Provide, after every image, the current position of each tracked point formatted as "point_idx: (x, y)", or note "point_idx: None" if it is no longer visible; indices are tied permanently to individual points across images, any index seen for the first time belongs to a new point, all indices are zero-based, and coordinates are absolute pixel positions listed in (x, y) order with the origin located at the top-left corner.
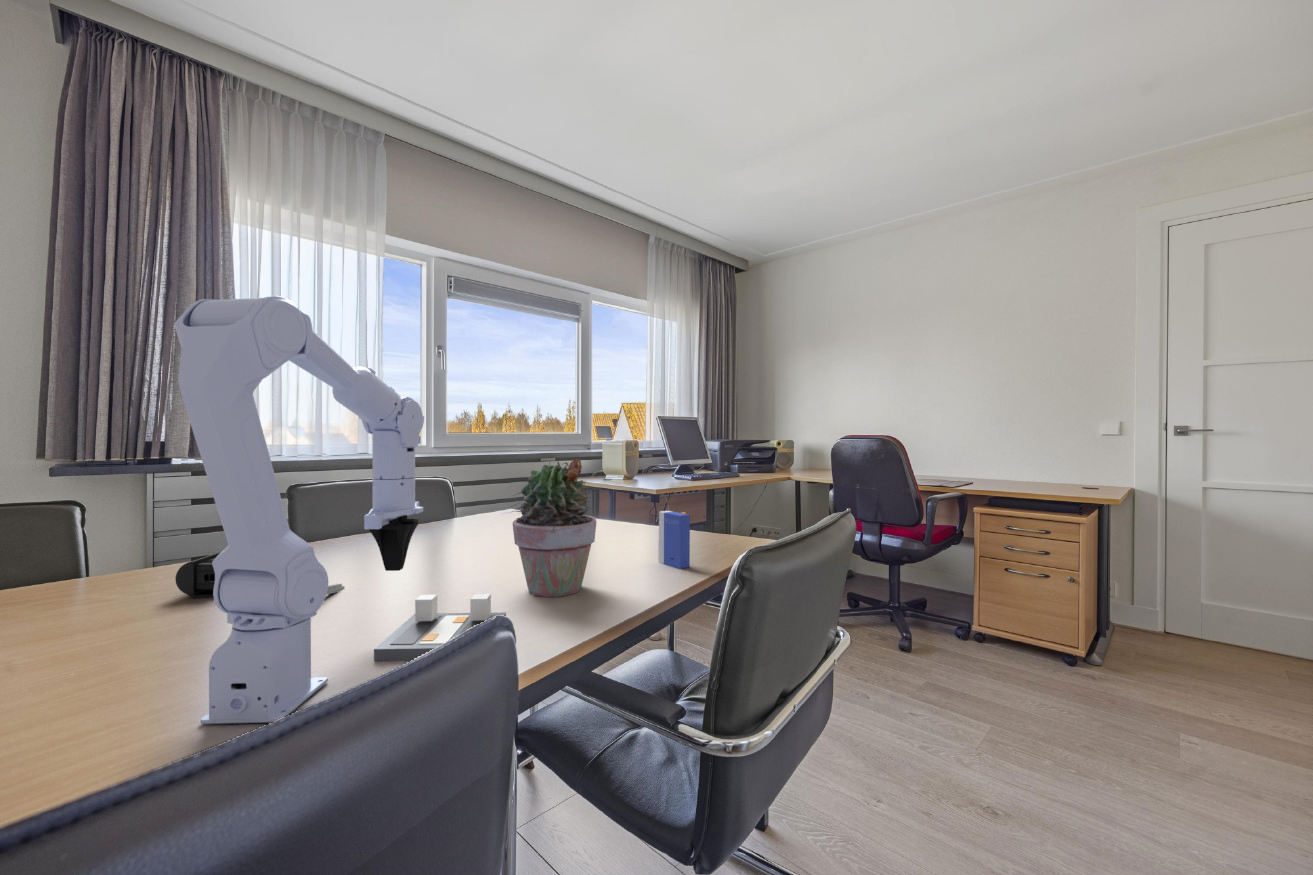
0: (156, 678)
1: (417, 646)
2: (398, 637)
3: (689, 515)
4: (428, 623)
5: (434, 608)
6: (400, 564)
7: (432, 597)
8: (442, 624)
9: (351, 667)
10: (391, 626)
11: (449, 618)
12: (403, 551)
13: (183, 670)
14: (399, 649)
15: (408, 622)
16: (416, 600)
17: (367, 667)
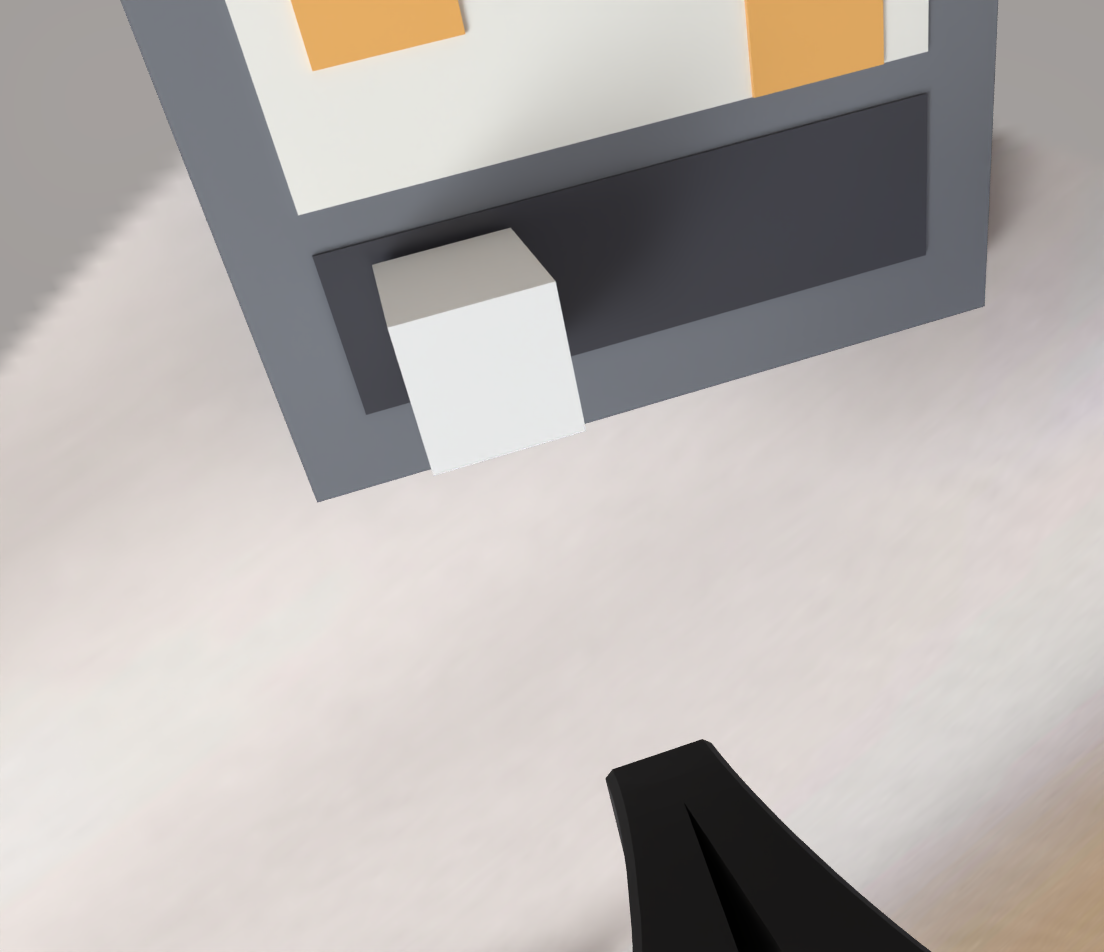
0: (1032, 888)
1: (962, 33)
2: (812, 281)
3: None
4: None
5: (462, 267)
6: (738, 781)
7: (489, 317)
8: (521, 107)
9: (1012, 341)
10: (414, 567)
11: (361, 134)
12: (793, 908)
13: (979, 882)
14: (989, 142)
15: None
16: (580, 417)
17: (1021, 256)
